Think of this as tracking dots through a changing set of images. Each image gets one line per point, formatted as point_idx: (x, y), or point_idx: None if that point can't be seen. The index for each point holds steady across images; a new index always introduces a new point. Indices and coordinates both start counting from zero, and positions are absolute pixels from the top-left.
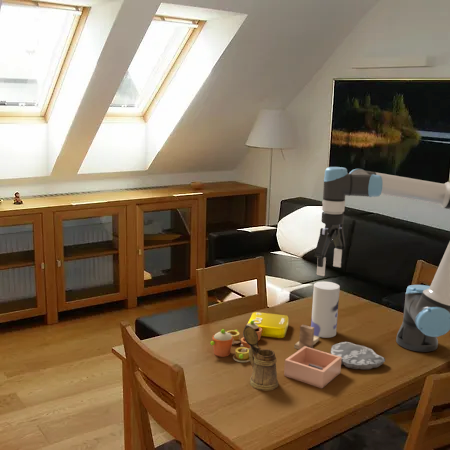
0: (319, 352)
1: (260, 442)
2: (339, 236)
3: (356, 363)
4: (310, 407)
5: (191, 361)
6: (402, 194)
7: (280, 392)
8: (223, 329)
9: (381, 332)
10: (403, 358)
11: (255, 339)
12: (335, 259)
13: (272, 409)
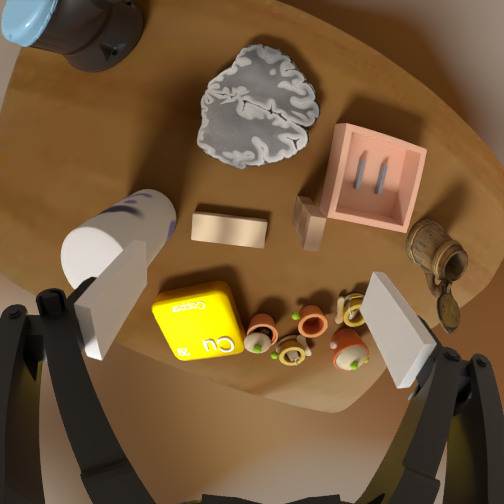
0: (342, 176)
1: None
2: (122, 477)
3: (308, 94)
4: (459, 155)
5: None
6: None
7: (438, 209)
8: (355, 367)
9: (80, 112)
10: (187, 28)
11: (445, 300)
12: (130, 296)
13: (475, 206)
